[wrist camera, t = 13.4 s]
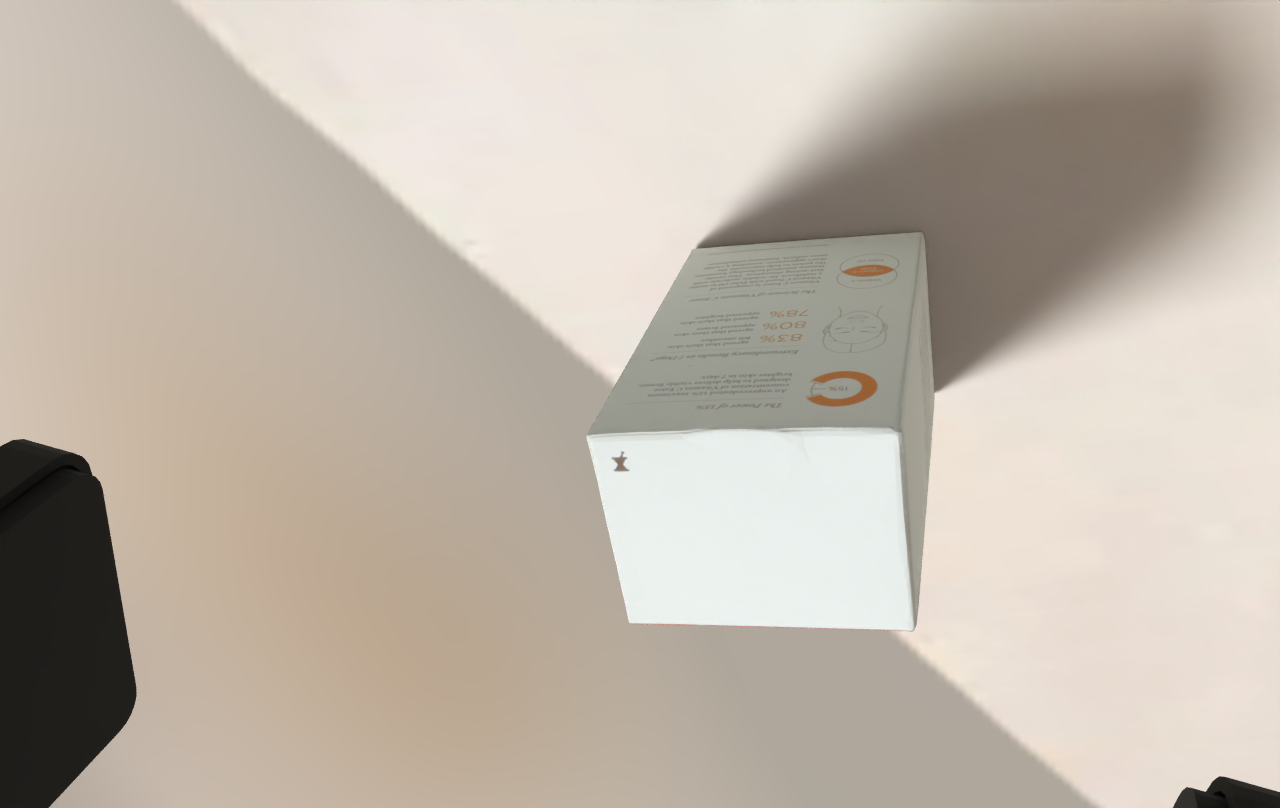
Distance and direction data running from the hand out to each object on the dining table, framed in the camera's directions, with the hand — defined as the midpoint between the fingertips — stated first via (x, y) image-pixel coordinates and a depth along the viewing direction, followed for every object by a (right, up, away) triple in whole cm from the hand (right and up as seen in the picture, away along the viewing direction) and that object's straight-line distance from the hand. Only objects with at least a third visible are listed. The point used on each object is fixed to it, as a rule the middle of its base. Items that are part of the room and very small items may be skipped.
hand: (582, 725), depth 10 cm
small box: (+7, +6, +31) cm, 33 cm away
